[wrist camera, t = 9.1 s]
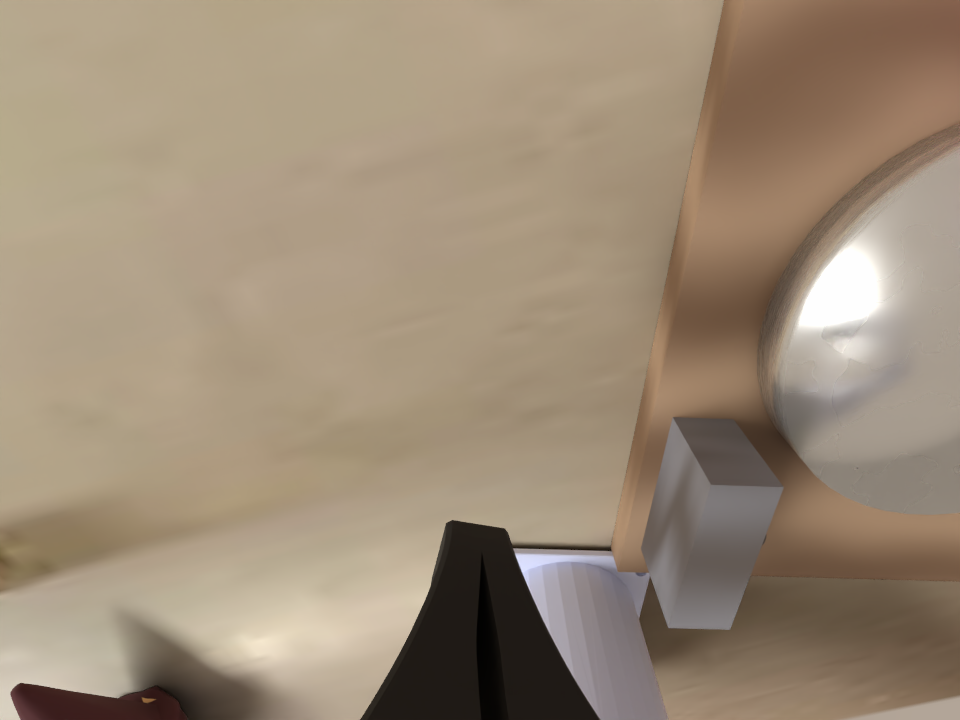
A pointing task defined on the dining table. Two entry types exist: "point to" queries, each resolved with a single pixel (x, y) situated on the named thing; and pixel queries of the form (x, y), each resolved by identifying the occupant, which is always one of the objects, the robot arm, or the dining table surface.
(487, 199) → the dining table surface
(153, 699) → the icecream
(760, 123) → the stand
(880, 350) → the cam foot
